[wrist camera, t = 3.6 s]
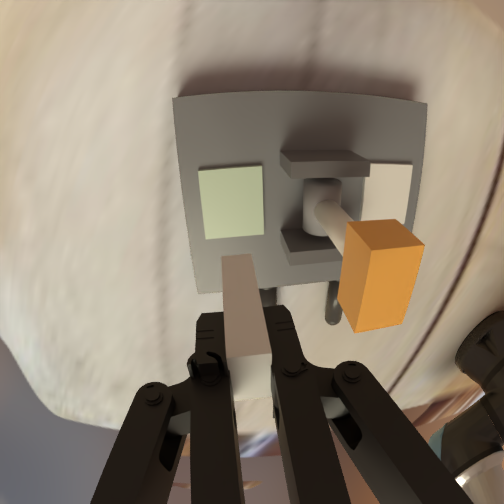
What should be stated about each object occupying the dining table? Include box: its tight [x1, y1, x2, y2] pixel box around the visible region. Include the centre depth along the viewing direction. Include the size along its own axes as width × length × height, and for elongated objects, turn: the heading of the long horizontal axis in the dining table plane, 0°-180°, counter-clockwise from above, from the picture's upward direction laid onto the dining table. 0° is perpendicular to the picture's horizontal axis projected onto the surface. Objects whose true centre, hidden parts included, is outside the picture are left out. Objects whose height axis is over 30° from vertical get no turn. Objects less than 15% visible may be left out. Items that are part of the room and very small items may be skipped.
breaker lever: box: [302, 178, 425, 333], centre depth 20 cm, size 3×5×13 cm, turn 2°
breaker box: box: [172, 91, 427, 325], centre depth 27 cm, size 22×26×7 cm
